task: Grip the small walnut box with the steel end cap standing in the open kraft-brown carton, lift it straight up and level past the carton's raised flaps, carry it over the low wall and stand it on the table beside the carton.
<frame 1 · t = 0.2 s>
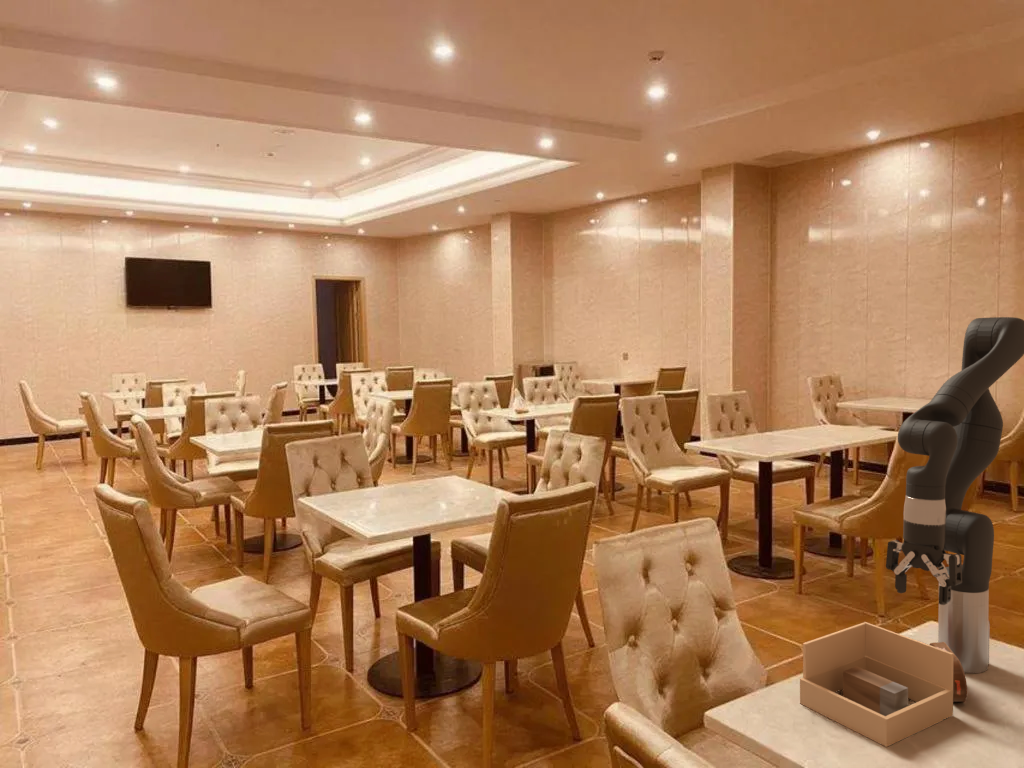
hand: (921, 598, 158), 18 cm above the table, tool pointing down, fingers open, 8 cm apart
tin: (946, 692, 156), on the table
carton: (874, 709, 150), on the table
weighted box: (874, 694, 149), in the carton
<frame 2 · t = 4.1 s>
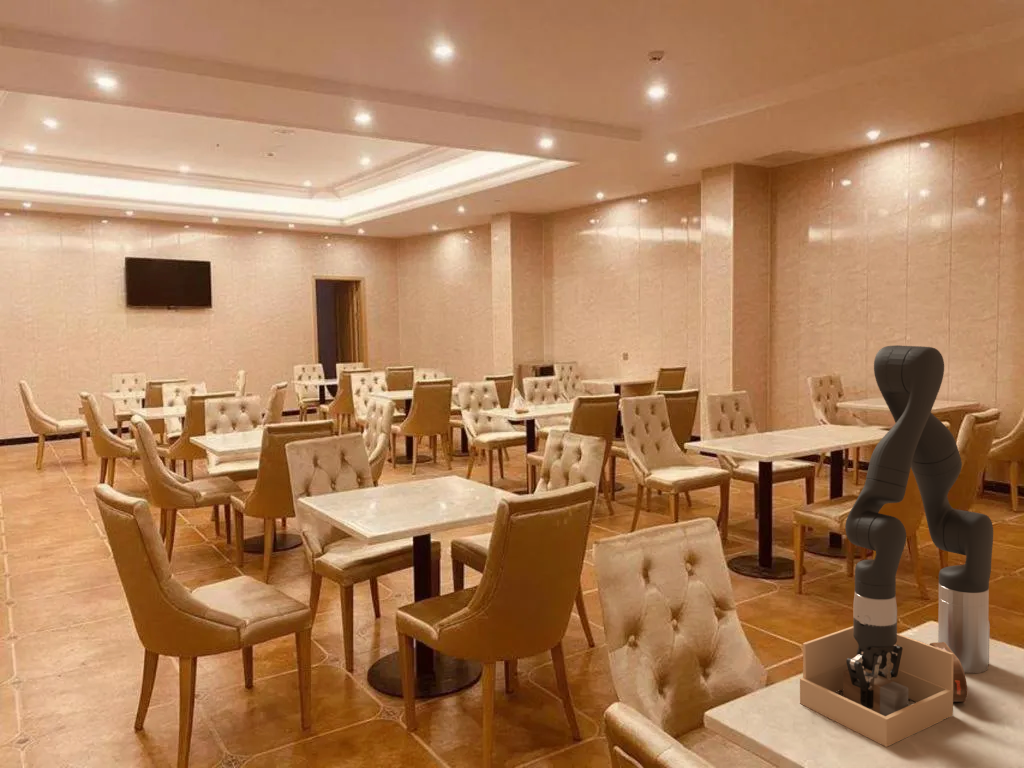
hand: (874, 703, 149), 1 cm above the table, tool pointing down, fingers closed on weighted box, 4 cm apart
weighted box: (874, 694, 149), in the carton, touching gripper
everything else where it was.
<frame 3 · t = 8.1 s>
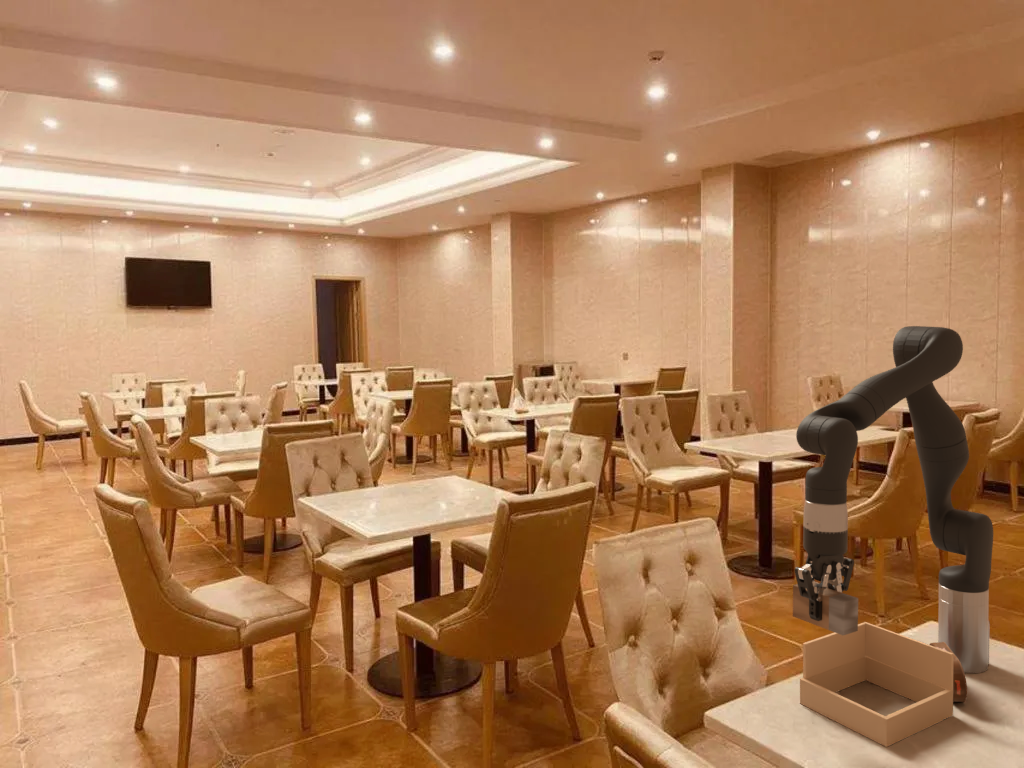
hand: (824, 616, 144), 20 cm above the table, tool pointing down, fingers closed on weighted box, 4 cm apart
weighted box: (824, 607, 144), point 22 cm above the table, touching gripper
everything else where it was.
when the fingers open (3 cm above the table, at t = 12.4 s): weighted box drops 1 cm, on the table.
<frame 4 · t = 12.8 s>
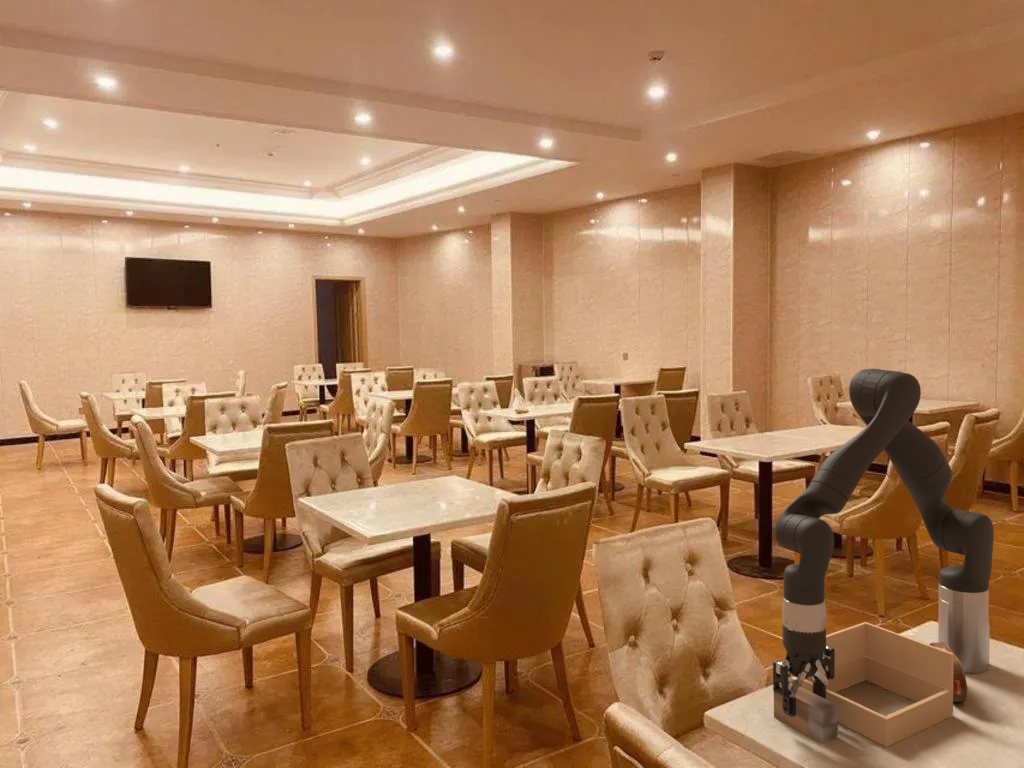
hand: (804, 708, 144), 3 cm above the table, tool pointing down, fingers open, 7 cm apart
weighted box: (804, 711, 144), on the table
everything else where it was.
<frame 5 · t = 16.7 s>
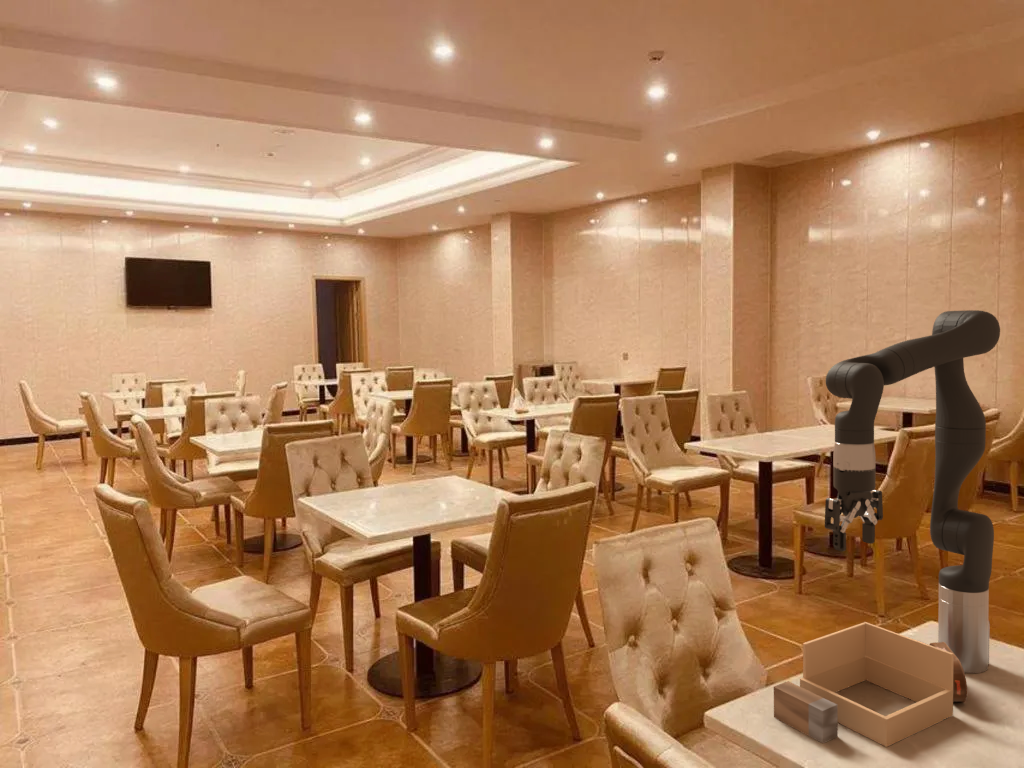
hand: (854, 546, 153), 30 cm above the table, tool pointing down, fingers open, 8 cm apart
nothing on the table moved.
at the end: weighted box inside the target area (0.1 cm from its centre), on the table; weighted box tilted 0°; the gripper is holding nothing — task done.
